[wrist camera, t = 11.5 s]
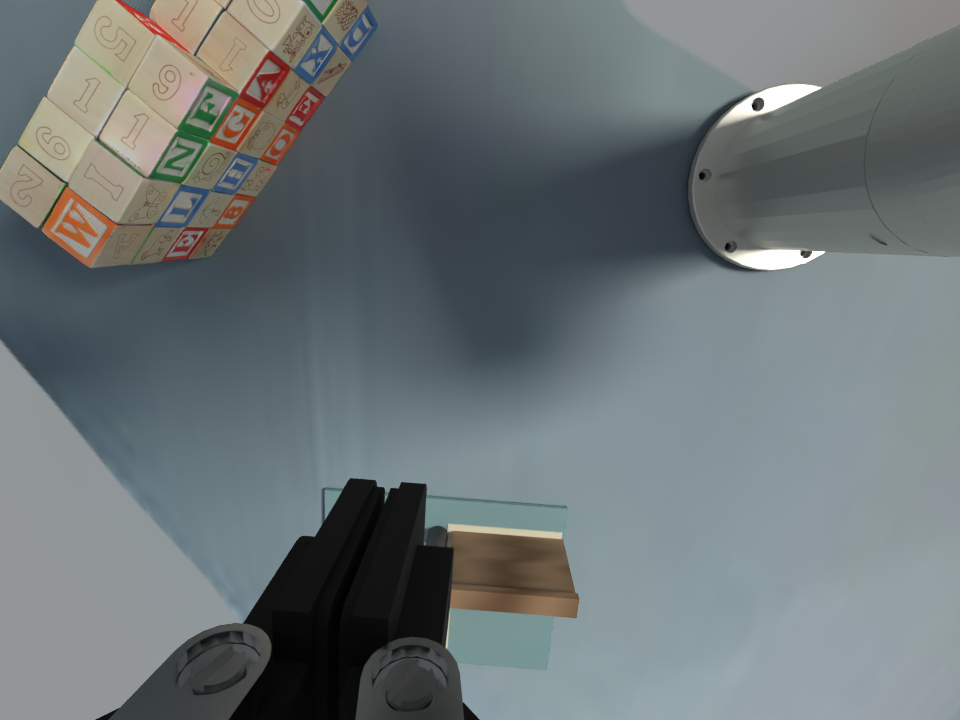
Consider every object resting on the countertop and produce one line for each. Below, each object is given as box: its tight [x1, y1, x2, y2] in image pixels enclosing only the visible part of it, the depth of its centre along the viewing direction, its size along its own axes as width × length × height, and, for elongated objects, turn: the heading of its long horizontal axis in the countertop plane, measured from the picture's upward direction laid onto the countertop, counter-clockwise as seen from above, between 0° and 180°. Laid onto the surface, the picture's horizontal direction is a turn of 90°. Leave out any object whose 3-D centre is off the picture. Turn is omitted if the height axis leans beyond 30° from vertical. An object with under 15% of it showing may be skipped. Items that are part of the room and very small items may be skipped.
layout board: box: [325, 488, 567, 670], centre depth 45 cm, size 21×17×1 cm
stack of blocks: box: [0, 0, 377, 268], centre depth 30 cm, size 21×6×12 cm, turn 139°
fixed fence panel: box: [426, 526, 579, 618], centre depth 39 cm, size 12×2×8 cm, turn 86°
